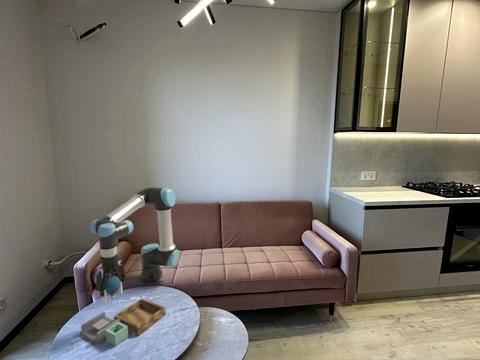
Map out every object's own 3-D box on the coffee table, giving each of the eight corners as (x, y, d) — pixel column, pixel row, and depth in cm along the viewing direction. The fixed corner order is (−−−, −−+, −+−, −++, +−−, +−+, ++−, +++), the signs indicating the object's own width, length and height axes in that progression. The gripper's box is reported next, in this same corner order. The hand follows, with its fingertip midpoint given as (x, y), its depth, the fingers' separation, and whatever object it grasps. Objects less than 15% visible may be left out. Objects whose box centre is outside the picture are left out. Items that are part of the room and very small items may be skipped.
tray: (142, 305, 160) (141, 298, 160) (165, 315, 151) (165, 307, 151) (114, 323, 144) (113, 316, 144) (139, 335, 135) (138, 327, 135)
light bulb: (114, 304, 135) (112, 281, 133) (99, 302, 136) (97, 279, 135) (125, 294, 143) (123, 273, 141) (111, 292, 145) (109, 271, 143)
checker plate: (102, 320, 142) (102, 318, 142) (110, 324, 139) (110, 322, 139) (91, 327, 137) (91, 325, 137) (99, 331, 134) (99, 329, 134)
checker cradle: (105, 319, 148) (104, 310, 147) (122, 327, 141) (122, 318, 141) (79, 335, 136) (78, 325, 135) (97, 345, 129) (96, 335, 129)
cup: (118, 332, 138) (118, 321, 137) (128, 337, 134) (127, 326, 133) (106, 341, 132) (105, 330, 131) (115, 346, 128) (115, 335, 127)
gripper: (122, 246, 147) (125, 285, 150) (83, 261, 129) (88, 305, 132) (131, 248, 143) (134, 289, 147) (93, 265, 125) (97, 310, 129)
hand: (112, 297), depth 140 cm, fingers closed on light bulb, 8 cm apart
